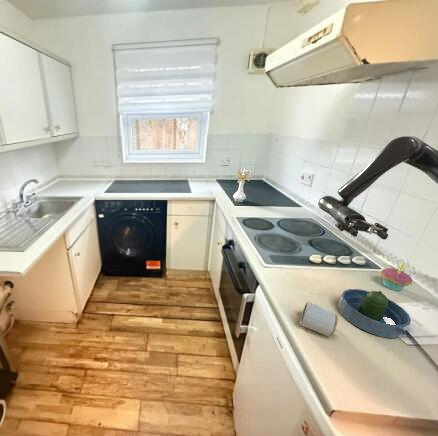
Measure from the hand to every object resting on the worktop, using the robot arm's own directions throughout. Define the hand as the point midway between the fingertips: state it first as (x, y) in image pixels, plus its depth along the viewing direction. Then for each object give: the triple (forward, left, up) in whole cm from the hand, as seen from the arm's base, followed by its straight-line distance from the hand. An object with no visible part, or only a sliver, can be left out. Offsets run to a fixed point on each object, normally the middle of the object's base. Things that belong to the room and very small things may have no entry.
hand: (370, 235), depth 82 cm
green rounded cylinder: (+2, +16, -22) cm, 27 cm away
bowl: (+2, +16, -22) cm, 28 cm away
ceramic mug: (+20, +24, -22) cm, 38 cm away
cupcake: (-15, -5, -22) cm, 28 cm away
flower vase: (+34, -97, -22) cm, 105 cm away
